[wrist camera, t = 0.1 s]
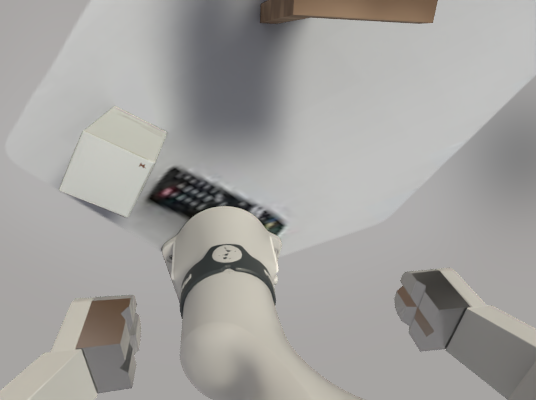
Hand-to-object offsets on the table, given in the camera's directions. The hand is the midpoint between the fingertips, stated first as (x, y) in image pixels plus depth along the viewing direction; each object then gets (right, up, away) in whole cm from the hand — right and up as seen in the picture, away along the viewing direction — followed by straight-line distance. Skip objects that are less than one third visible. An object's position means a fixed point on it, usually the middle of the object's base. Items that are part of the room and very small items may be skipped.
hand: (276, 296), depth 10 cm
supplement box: (-19, +11, +35) cm, 41 cm away
